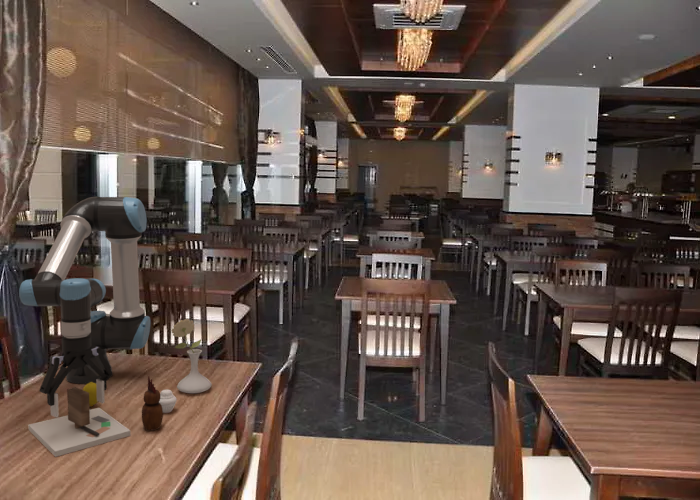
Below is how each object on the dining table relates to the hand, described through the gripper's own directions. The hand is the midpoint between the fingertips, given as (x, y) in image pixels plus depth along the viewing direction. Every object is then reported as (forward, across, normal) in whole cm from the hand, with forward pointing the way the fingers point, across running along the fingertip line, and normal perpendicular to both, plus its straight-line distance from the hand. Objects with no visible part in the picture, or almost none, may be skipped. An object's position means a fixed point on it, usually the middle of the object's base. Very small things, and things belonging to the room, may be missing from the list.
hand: (78, 408), depth 172 cm
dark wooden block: (+5, 0, -3) cm, 6 cm away
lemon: (+7, +13, +15) cm, 21 cm away
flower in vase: (+7, +42, +3) cm, 43 cm away
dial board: (+7, 0, 0) cm, 7 cm away
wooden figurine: (+7, +15, -13) cm, 21 cm away
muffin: (+7, +26, -5) cm, 27 cm away
